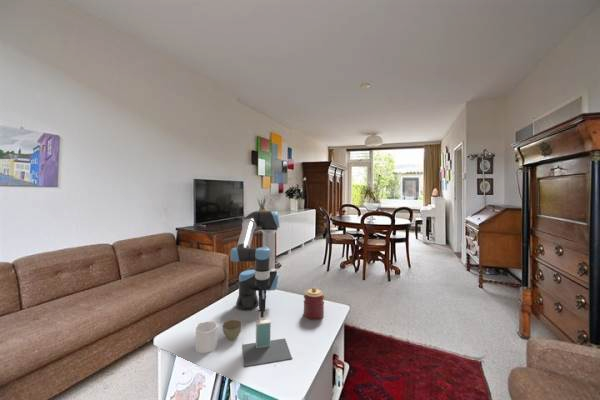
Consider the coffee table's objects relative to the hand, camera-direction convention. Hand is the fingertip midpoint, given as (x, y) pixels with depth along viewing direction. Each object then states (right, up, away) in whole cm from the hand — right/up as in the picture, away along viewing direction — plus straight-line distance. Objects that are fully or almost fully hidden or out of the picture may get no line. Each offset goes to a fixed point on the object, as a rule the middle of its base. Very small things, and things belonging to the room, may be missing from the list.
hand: (261, 322), depth 128 cm
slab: (+1, -9, -5) cm, 10 cm away
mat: (+4, -9, -10) cm, 14 cm away
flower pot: (-16, -9, +1) cm, 18 cm away
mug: (-27, -9, -6) cm, 29 cm away
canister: (+29, -9, +27) cm, 41 cm away
